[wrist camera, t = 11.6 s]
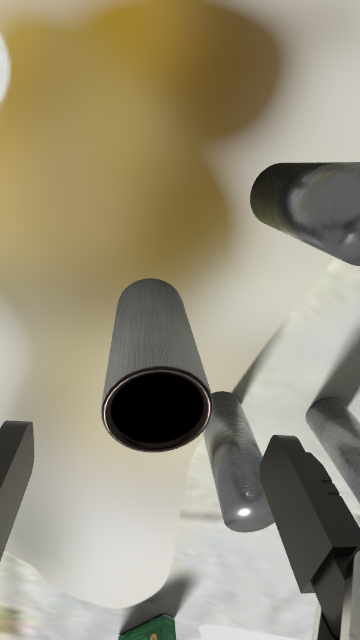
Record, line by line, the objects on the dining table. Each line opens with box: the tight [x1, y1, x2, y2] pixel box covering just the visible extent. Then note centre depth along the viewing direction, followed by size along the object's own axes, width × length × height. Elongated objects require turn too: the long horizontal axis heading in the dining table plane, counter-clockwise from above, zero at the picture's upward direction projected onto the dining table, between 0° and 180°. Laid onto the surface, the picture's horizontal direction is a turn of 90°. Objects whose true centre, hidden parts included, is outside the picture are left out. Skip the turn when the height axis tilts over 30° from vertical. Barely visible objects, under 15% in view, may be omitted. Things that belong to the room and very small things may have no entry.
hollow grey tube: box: [101, 279, 213, 452], centre depth 17 cm, size 4×4×10 cm
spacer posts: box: [203, 162, 360, 532], centre depth 20 cm, size 21×14×9 cm, turn 170°
